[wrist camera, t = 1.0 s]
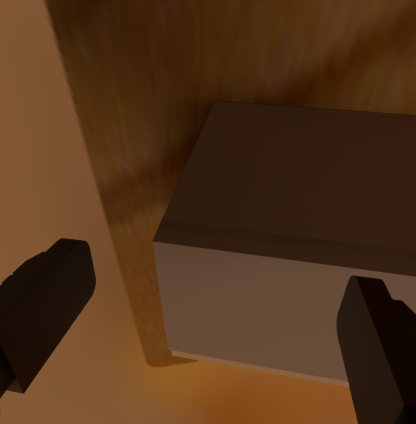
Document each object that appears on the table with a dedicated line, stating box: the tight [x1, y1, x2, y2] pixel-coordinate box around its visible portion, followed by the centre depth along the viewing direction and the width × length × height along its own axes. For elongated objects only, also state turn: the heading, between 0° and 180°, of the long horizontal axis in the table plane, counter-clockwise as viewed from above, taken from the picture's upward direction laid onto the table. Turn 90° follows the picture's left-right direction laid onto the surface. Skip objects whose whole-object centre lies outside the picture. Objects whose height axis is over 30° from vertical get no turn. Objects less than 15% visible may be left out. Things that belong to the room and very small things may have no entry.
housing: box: [152, 101, 416, 382], centre depth 22 cm, size 10×24×18 cm, turn 89°
